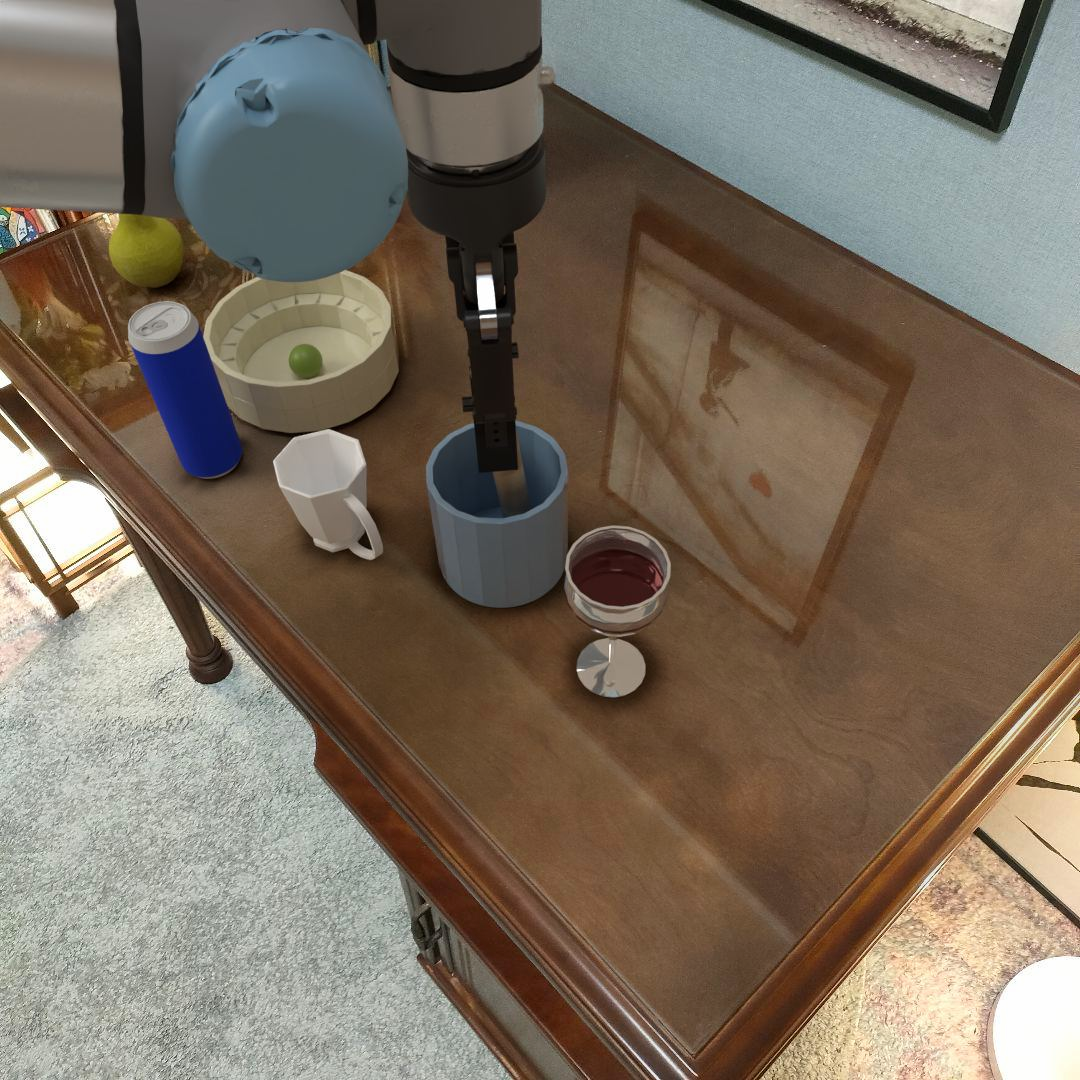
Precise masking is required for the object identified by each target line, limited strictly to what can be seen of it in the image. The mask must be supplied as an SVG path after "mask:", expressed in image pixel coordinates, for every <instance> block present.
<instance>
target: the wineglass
mask: <svg viewBox="0 0 1080 1080" xmlns="http://www.w3.org/2000/svg"><path fill="white" fill-rule="evenodd" d="M671 565H672V564H671V560H670V557H669V554H668V551H667V550H666V549H665V548H664V546H662V544H661V543H660V542H659V540H658V539H656V538H655V537H653V536H652V535H650V534H649V533H647V532H646V531H644V530H641V529H638V528H634V527H631V526H628V525H627V526H626V525H625V526H624V525H608V526H603V527H602V526H601V527H597V528H594V529H593V530H591V531H588V532H586V533H584V534H583V535H581V536H580V537H579V538H578V539H577V540H575V542H573V543H572V545H571V547H570V549H569V550H568V554H567V558H566V565H565V569H564V571H565V578H564V585H563V588H564V591H563V593H564V597H565V599H566V604H567V607H568V608H569V610H570V611H571V612H572V614H573V615H574V616H575V618H576V619H577V620H578V622H580V623H581V624H582V625H583V626H584V627H586V628H587V629H589V630H590V631H593V632H595V633H597V634H600V635H602V636H607V638H606V637H605V638H602V639H597V640H595V641H592V642H591V643H588V645H586V646H585V648H583V649H582V650H581V652H580V654H579V656H578V658H577V661H576V672H577V677H578V679H579V680H580V681H581V683H582V685H583V686H584V687H585V688H586V689H587V690H589V691H590V692H591V693H594V694H596V695H599V696H601V697H604V698H605V697H606V698H619V697H625V696H626V695H628V694H631V693H632V692H634V691H636V690H637V689H638V687H639V686H640V685H642V683H643V680H644V679H645V676H646V669H647V668H646V667H647V666H646V663H645V659H644V656H643V655H642V653H641V652H640V650H639V649H638V648H637V647H636V646H634V645H633V644H631V643H630V642H628V641H626V640H623V639H620V638H622V637H626V636H632V635H635V634H638V633H640V632H642V631H644V630H645V629H647V628H649V627H650V625H652V624H653V623H654V622H655V621H656V620H657V619H658V618H659V617H660V616H661V614H662V612H663V611H664V608H665V606H666V604H667V601H668V599H669V596H670V595H669V593H670V581H669V580H670V578H671V568H672V567H671Z"/></svg>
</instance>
